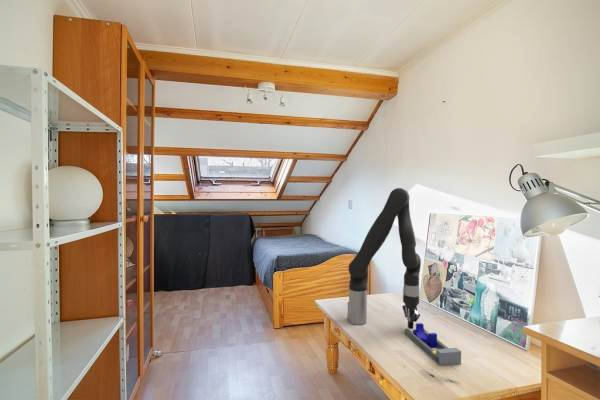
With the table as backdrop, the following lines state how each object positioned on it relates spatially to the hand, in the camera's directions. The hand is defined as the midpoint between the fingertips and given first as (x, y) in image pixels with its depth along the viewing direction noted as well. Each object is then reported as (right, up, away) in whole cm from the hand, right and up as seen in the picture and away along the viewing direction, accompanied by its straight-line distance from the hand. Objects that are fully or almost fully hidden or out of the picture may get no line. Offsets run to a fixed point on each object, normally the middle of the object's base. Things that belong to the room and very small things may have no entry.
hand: (410, 328), depth 153 cm
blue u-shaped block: (+3, -2, -11) cm, 11 cm away
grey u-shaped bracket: (+3, -2, -15) cm, 16 cm away
